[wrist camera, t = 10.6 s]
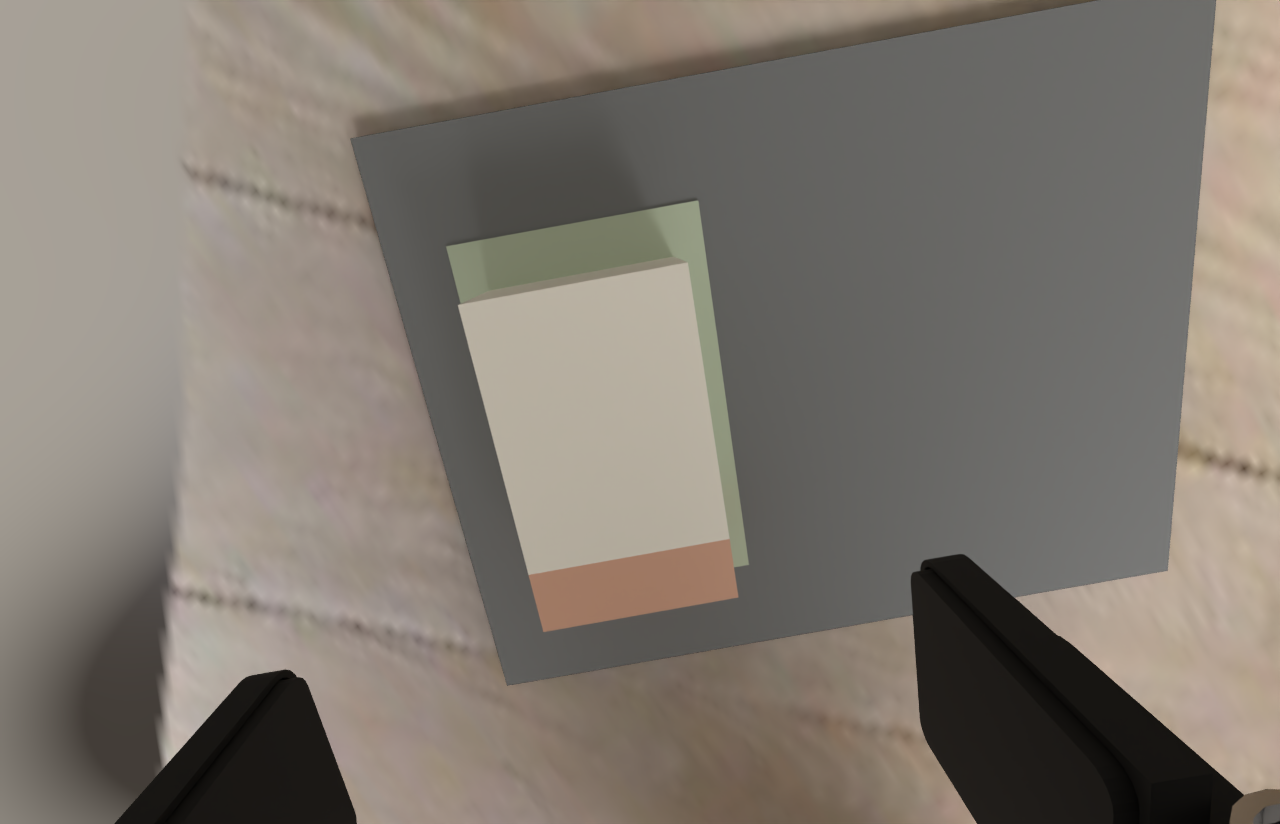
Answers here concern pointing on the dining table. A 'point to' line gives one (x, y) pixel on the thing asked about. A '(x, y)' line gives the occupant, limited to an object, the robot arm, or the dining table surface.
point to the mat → (849, 305)
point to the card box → (605, 440)
